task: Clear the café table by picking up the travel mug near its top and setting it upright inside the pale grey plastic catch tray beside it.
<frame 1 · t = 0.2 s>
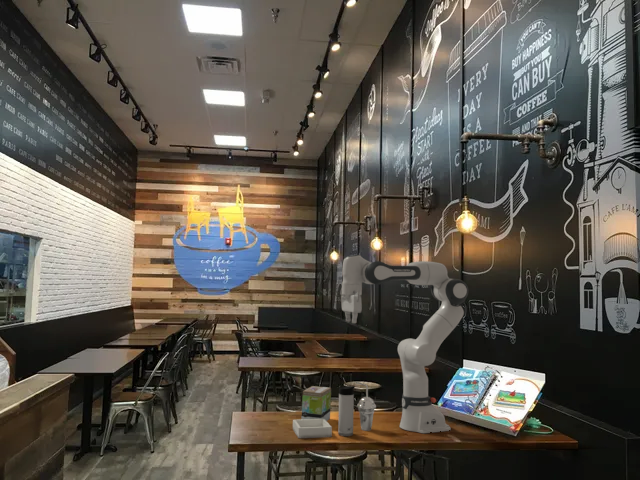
hand: (351, 322, 225), 47 cm above the table, fingers open, 8 cm apart
catch tray: (311, 433, 215), on the table
travel mug: (346, 434, 214), on the table
tea box: (316, 421, 235), on the table
cup with straw: (365, 429, 223), on the table
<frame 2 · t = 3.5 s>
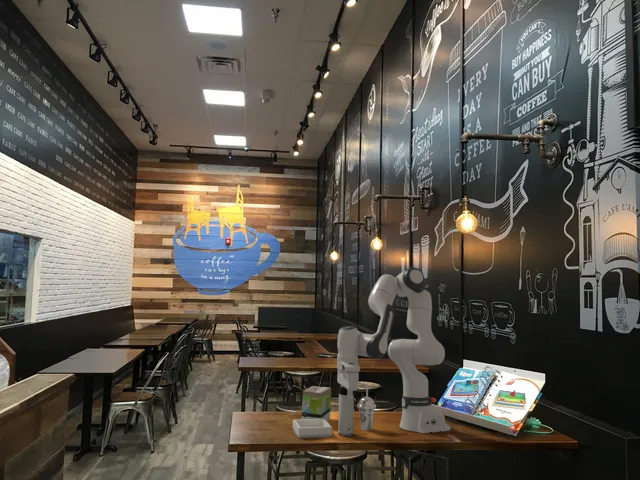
hand: (346, 397, 216), 15 cm above the table, fingers closed on travel mug, 6 cm apart
travel mug: (346, 434, 214), on the table, touching gripper
everything else where it was.
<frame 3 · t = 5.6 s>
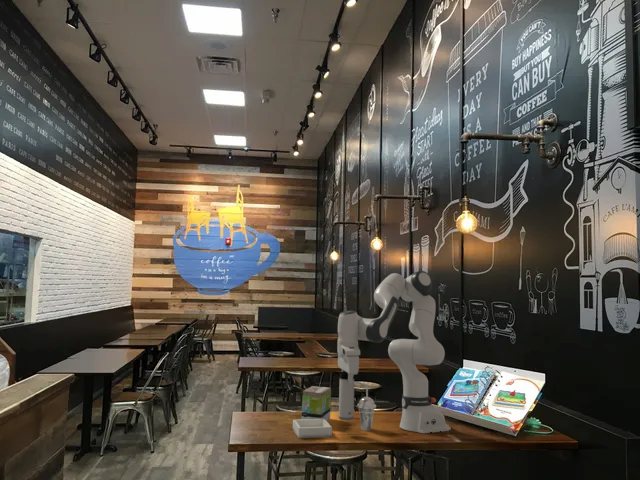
hand: (347, 381, 217), 22 cm above the table, fingers closed on travel mug, 6 cm apart
travel mug: (346, 419, 215), point 6 cm above the table, touching gripper
everything else where it was.
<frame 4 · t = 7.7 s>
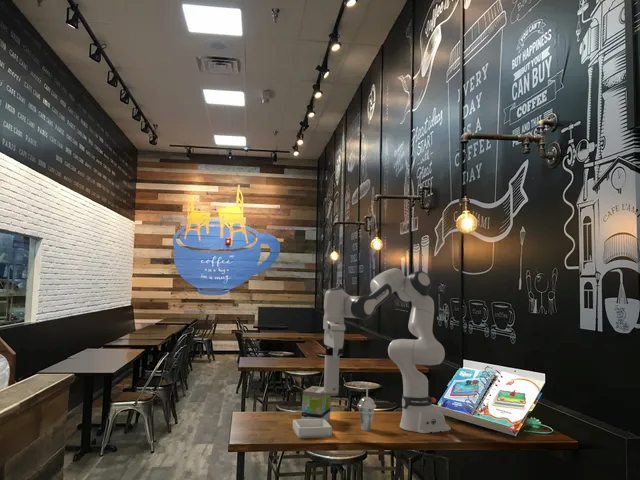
hand: (332, 357, 218), 32 cm above the table, fingers closed on travel mug, 6 cm apart
travel mug: (331, 395, 216), point 16 cm above the table, touching gripper
everything else where it was.
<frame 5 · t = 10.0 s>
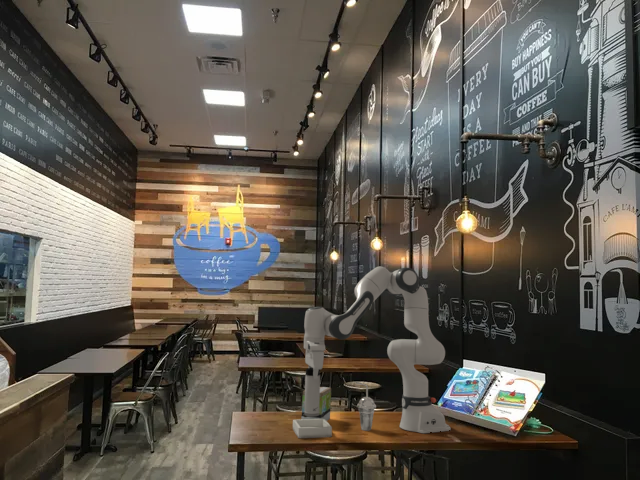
hand: (313, 377, 218), 23 cm above the table, fingers closed on travel mug, 6 cm apart
travel mug: (312, 415, 216), point 7 cm above the table, touching gripper
everything else where it was.
when the fingers open (19 cm above the table, at t = 11.8 s): travel mug drops 2 cm, resting on catch tray.
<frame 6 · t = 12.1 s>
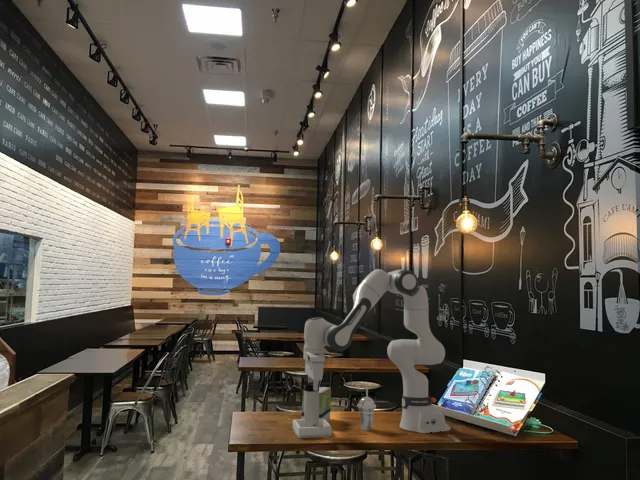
hand: (312, 388, 217), 19 cm above the table, fingers open, 8 cm apart
travel mug: (312, 430, 215), point 1 cm above the table, touching catch tray
everything else where it was.
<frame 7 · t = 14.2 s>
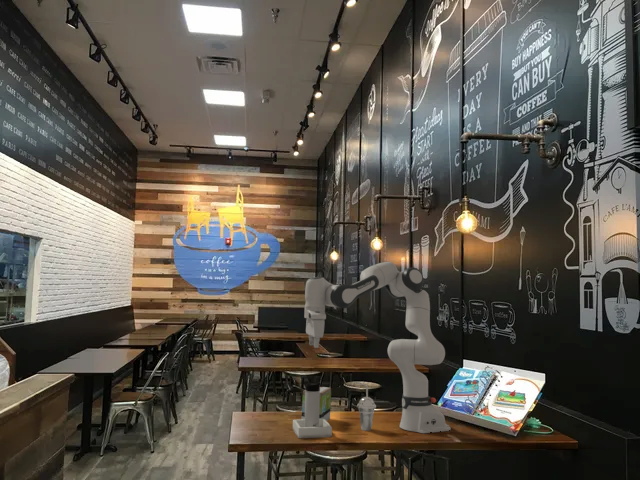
hand: (313, 346, 219), 36 cm above the table, fingers open, 8 cm apart
nothing on the table moved.
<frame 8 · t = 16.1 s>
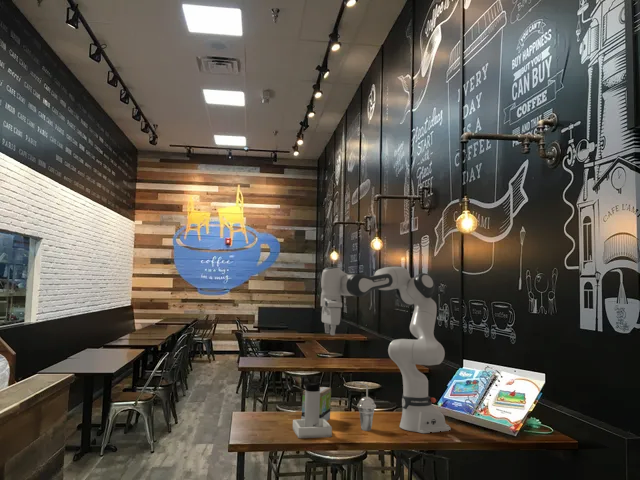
hand: (329, 334, 225), 41 cm above the table, fingers open, 8 cm apart
nothing on the table moved.
at the end: travel mug inside the target area on the catch tray (0.1 cm from its centre), point 0.8 cm above the catch tray's base; travel mug tilted 0°; the gripper is holding nothing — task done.
